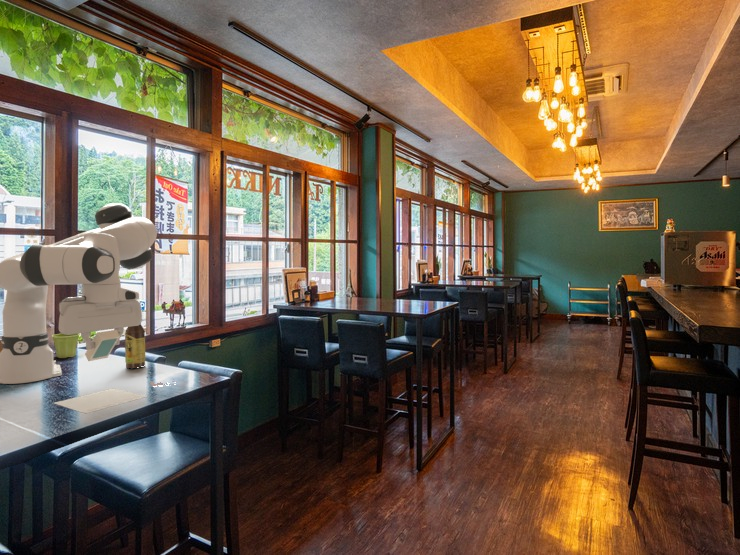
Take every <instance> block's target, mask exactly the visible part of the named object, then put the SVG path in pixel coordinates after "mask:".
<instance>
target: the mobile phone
mask: <svg viewBox="0 0 740 555" xmlns="http://www.w3.org/2000/svg"><path fill="white" fill-rule="evenodd" d="M172 382H173V383H176V382H177V381H176V382H175V381H172ZM149 384H150V386H151V388H158V387H157V386H159V387H164V386H163V383H161V382H160V383H157V384H154V383H153V382H151V381H150V383H149ZM166 384H168V385H166ZM166 384H164V385H166V386H170V385H169V384H170V383H168V382H167V383H166Z"/></svg>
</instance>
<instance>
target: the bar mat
mask: <svg viewBox="0 0 740 555" xmlns="http://www.w3.org/2000/svg"><path fill="white" fill-rule="evenodd" d="M143 398H147V396H146V395H141V394H138V393H134V392H131V391H130V392H129V391H127V390H126V391H125V390H122V389H118V388H114V387H113V388H109V389H106V390H101V391H97V392H96V391H95V392H92V393H89V394H88V393H87V394H85V395H81V396H76V397H73V398H68V399H63V400H59V401H56V402H53V404H54V405H57V406H61V407H65V408H66V409H70V410H73V411H76V412H80V413H83V414H85V415H86V414H90V413H93V412H94V413H95V412H97V411H100V410H105V409H108V408H111V407H114V406H117V405H123V404H125V403H130V402H132V401H137V400H141V399H143Z"/></svg>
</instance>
